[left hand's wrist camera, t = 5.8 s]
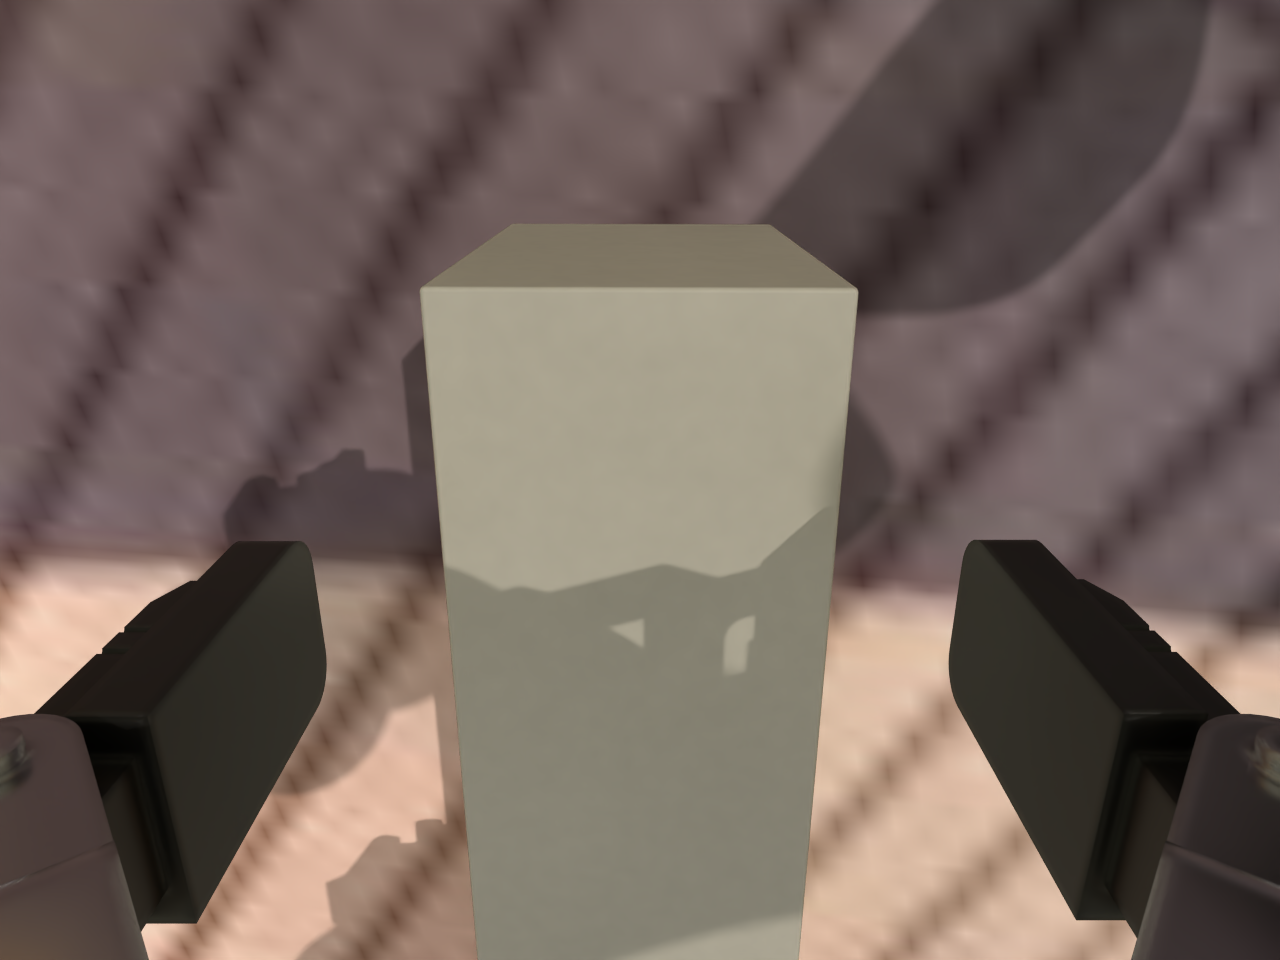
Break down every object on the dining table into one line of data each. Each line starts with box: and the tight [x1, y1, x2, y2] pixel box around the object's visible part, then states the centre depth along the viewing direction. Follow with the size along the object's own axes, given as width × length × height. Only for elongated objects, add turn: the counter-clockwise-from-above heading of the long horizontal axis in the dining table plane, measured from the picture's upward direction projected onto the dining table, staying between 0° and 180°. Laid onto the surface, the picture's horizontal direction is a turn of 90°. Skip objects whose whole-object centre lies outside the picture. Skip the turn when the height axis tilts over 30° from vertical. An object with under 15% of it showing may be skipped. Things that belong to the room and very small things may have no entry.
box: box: [420, 224, 858, 960], centre depth 22 cm, size 27×6×9 cm, turn 0°
